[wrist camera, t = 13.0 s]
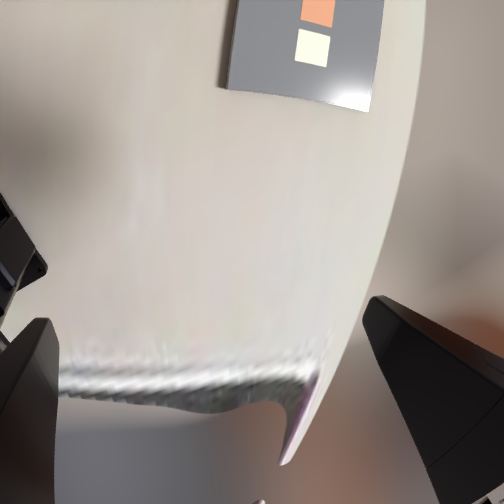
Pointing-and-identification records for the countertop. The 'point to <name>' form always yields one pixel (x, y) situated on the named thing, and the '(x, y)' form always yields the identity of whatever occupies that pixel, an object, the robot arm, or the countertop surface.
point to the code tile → (307, 49)
